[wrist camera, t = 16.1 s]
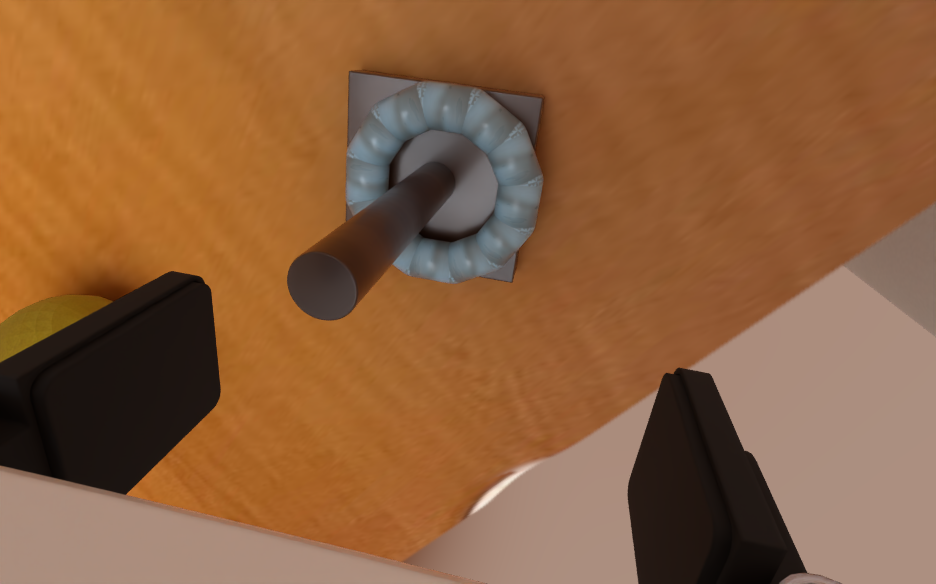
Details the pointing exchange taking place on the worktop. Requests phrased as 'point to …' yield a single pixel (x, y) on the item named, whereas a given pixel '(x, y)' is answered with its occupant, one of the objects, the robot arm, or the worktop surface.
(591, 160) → the worktop surface
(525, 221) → the ring
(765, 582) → the robot arm
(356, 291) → the peg stand
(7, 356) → the lemon
